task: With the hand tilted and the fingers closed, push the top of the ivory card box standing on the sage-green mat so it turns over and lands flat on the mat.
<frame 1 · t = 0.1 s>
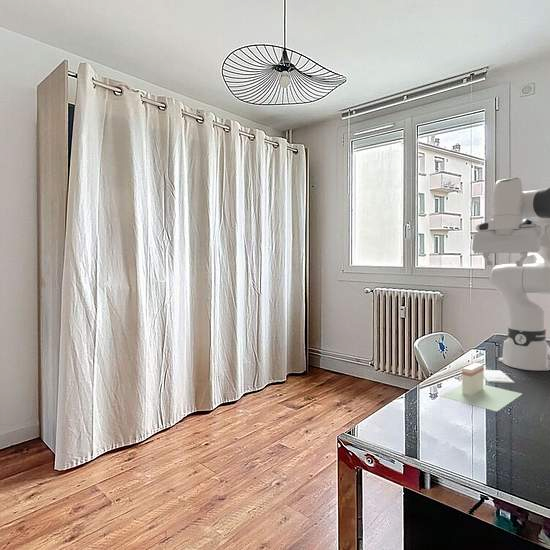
hand: (503, 266, 133), 39 cm above the table, tool pointing down, fingers open, 8 cm apart
external hard drive: (494, 380, 136), on the table
card box: (472, 391, 123), resting on mat
mat: (481, 396, 120), on the table
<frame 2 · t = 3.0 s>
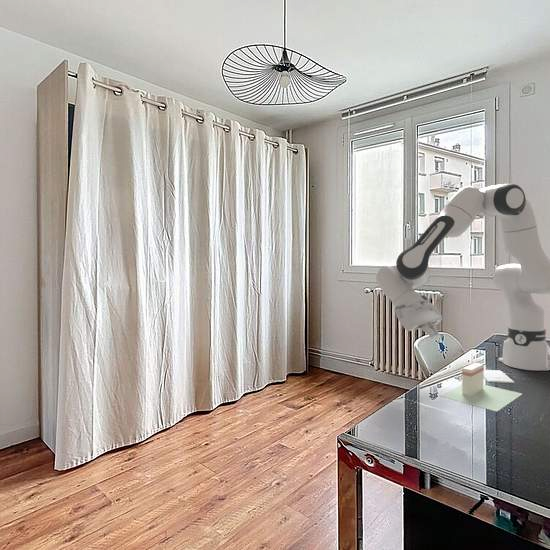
hand: (435, 336, 131), 16 cm above the table, tool tilted 45°, fingers closed
nothing on the table moved.
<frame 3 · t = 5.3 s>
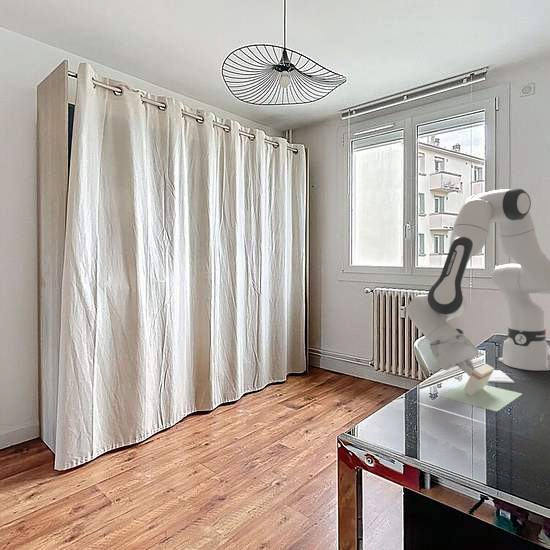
hand: (474, 374, 122), 6 cm above the table, tool tilted 45°, fingers closed
card box: (473, 389, 122), point 1 cm above the table, tilted 23°, touching mat
everything else where it was.
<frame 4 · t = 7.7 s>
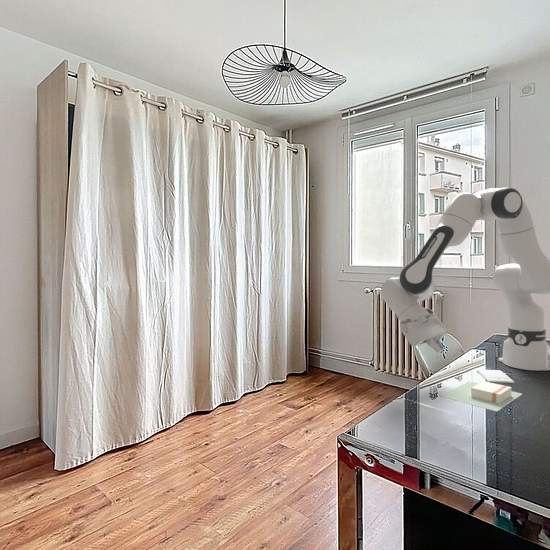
hand: (441, 351, 130), 11 cm above the table, tool tilted 45°, fingers closed
card box: (477, 388, 121), point 2 cm above the table, tilted 90°, touching mat
everything else where it was.
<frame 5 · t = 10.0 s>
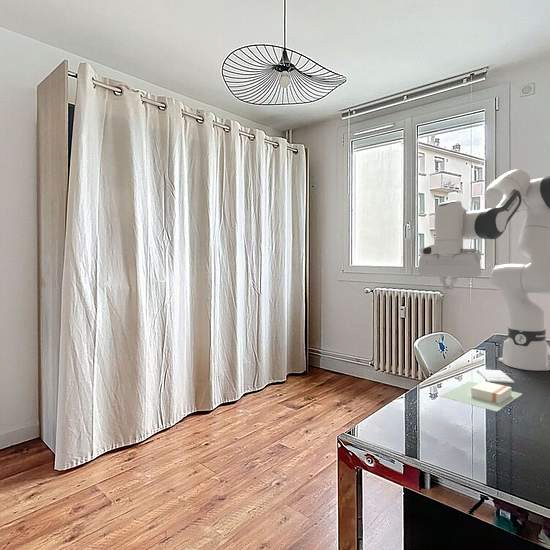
hand: (448, 290, 133), 31 cm above the table, tool pointing down, fingers closed
nothing on the table moved.
at the end: card box tilted 90°; card box inside the target area (1.9 cm from its centre), point 1.7 cm above the table; card box touching mat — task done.
